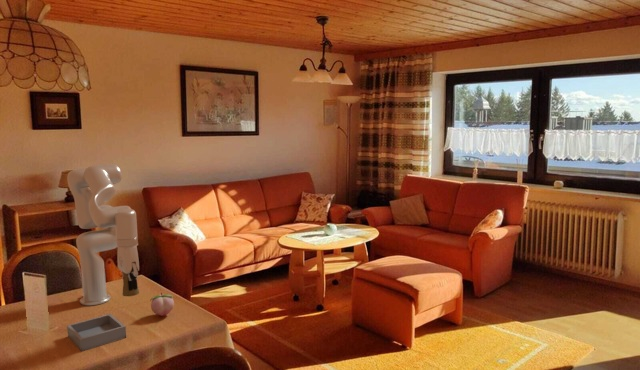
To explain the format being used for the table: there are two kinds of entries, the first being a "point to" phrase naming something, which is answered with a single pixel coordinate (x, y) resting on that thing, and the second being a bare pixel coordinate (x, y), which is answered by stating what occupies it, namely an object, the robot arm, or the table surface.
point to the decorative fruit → (162, 304)
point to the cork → (125, 287)
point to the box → (96, 332)
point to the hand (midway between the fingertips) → (130, 287)
